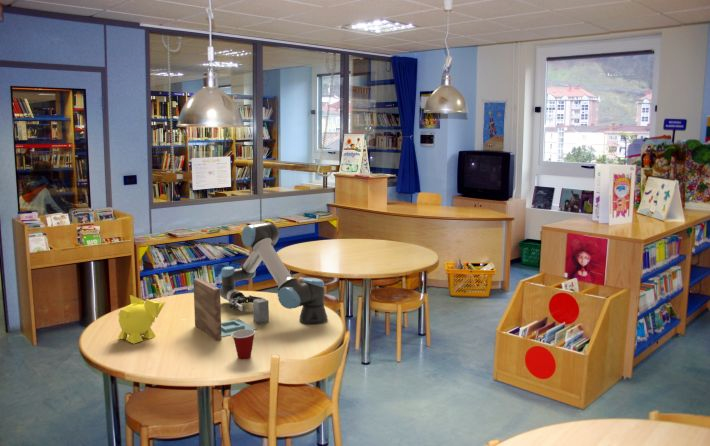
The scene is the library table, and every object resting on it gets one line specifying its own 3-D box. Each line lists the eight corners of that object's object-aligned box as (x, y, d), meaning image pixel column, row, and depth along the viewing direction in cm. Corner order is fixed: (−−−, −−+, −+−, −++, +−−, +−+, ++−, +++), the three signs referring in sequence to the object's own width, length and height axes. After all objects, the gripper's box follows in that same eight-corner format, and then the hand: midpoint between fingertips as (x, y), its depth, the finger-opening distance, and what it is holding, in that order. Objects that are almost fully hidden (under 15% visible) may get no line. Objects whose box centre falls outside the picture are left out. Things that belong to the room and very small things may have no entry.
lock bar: (263, 319, 336) (263, 298, 334) (268, 322, 331) (268, 300, 329) (253, 321, 332) (253, 299, 330) (258, 324, 327) (258, 302, 325)
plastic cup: (233, 353, 286) (232, 328, 284) (256, 352, 287) (256, 328, 285) (230, 362, 276) (229, 336, 274) (254, 361, 277) (254, 336, 275)
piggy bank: (167, 335, 310) (166, 298, 307) (135, 346, 293) (133, 307, 290) (141, 327, 320) (139, 291, 317) (109, 338, 304) (106, 300, 301)
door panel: (201, 325, 325) (199, 277, 320) (222, 339, 304) (221, 288, 300) (195, 326, 323) (193, 278, 318) (215, 340, 302) (214, 289, 298)
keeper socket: (239, 319, 335) (239, 316, 334) (256, 329, 319) (256, 326, 318) (204, 326, 323) (204, 323, 322) (220, 337, 307) (220, 333, 307)
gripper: (255, 300, 362) (273, 308, 345) (215, 307, 347) (232, 316, 331) (255, 287, 361) (272, 296, 344) (215, 294, 346) (232, 303, 329)
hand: (253, 306), depth 337 cm, fingers open, 13 cm apart
